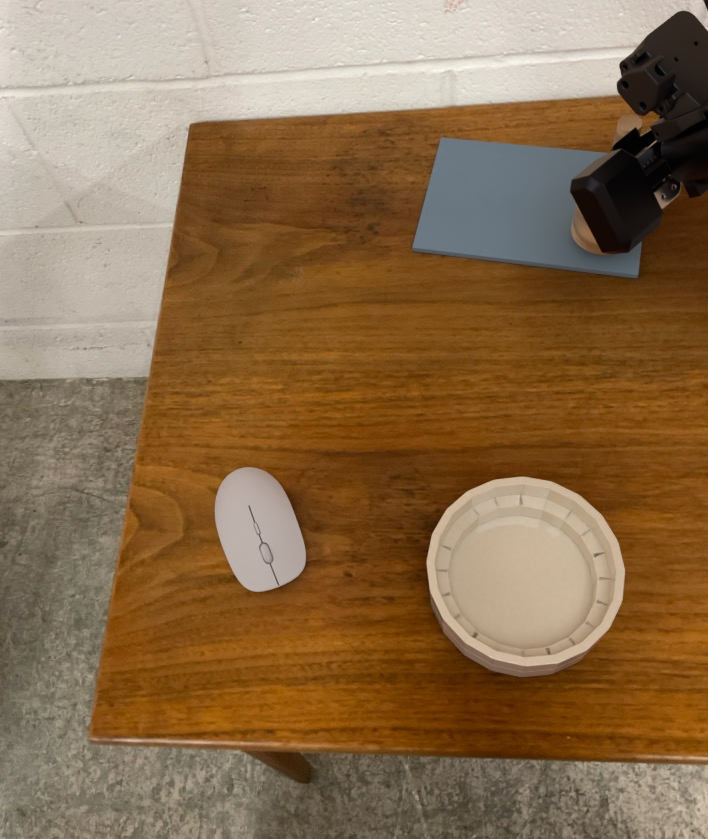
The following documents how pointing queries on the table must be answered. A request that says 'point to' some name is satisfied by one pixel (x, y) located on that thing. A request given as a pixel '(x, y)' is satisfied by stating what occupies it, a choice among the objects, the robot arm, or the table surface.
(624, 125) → the wooden stamp
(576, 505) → the bowl
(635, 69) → the robot arm
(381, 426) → the table surface
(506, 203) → the mat
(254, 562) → the computer mouse
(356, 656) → the table surface
